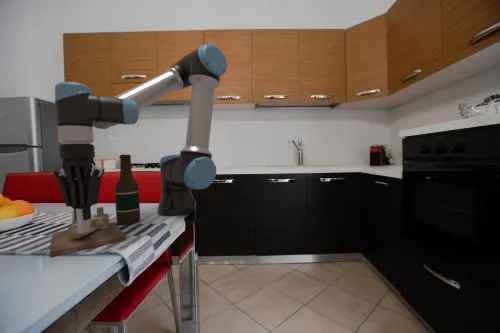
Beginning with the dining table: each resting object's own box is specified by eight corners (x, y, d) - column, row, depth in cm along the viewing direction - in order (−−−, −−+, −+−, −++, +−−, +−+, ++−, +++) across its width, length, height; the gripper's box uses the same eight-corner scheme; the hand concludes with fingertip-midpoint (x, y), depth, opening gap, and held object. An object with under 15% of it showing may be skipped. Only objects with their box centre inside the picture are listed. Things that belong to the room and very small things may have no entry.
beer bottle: (124, 219, 88) (120, 154, 87) (145, 218, 88) (141, 154, 87) (111, 225, 81) (107, 155, 79) (133, 225, 80) (129, 154, 79)
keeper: (108, 223, 79) (107, 205, 79) (111, 227, 74) (110, 209, 74) (73, 229, 73) (71, 210, 73) (74, 234, 68) (72, 214, 68)
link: (98, 223, 77) (97, 206, 77) (111, 222, 77) (110, 206, 77) (65, 238, 63) (64, 218, 62) (82, 237, 63) (81, 217, 63)
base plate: (113, 225, 80) (113, 222, 80) (125, 240, 66) (125, 236, 66) (52, 236, 70) (52, 233, 70) (50, 257, 56) (50, 252, 56)
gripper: (109, 143, 66) (115, 227, 67) (67, 145, 67) (74, 228, 68) (88, 141, 58) (95, 236, 59) (41, 144, 60) (49, 237, 61)
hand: (84, 231), depth 64 cm, fingers closed
